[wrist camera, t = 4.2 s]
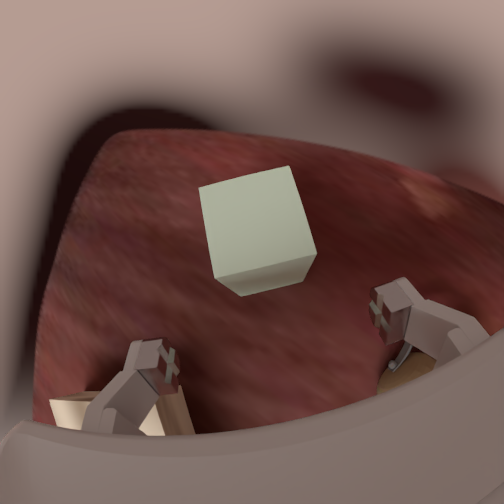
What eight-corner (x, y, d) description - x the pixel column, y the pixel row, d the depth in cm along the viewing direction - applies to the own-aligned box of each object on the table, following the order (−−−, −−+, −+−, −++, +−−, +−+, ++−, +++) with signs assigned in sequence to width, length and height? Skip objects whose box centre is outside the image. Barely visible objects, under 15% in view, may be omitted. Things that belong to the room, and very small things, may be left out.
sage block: (286, 223, 20) (289, 165, 13) (302, 281, 19) (317, 253, 12) (228, 237, 21) (198, 187, 13) (240, 296, 19) (214, 278, 12)
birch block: (181, 384, 18) (153, 399, 14) (216, 488, 16) (201, 520, 11) (85, 390, 19) (49, 399, 14) (119, 482, 16) (92, 504, 11)
